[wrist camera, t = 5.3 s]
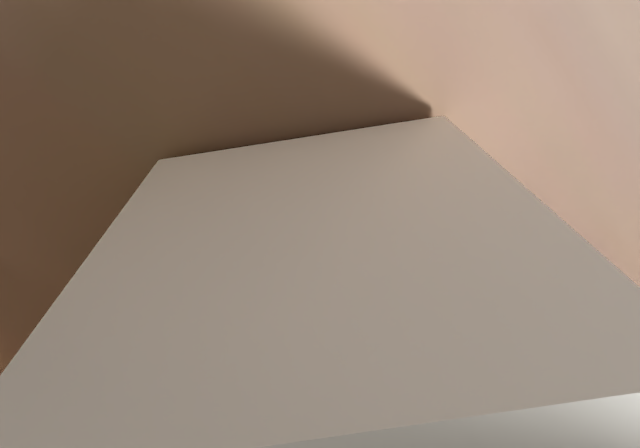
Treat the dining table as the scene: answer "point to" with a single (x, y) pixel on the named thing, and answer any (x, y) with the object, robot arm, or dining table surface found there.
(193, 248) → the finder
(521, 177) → the dining table surface
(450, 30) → the dining table surface
